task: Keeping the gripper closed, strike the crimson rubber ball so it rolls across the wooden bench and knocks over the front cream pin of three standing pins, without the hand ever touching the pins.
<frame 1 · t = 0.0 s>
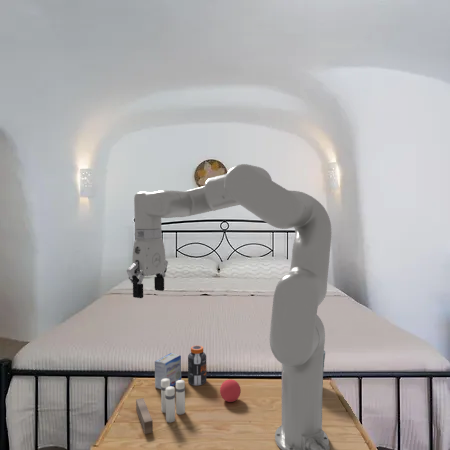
hand: (149, 293, 108), 31 cm above the table, tool pointing down, fingers open, 9 cm apart
back wall: (144, 420, 99), on the table
front pin: (180, 412, 103), on the table
ball: (230, 390, 108), on the table
grey green cup: (308, 389, 116), on the table
right back pin: (165, 410, 103), on the table
medicine box: (168, 385, 119), on the table
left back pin: (170, 419, 99), on the table
pill bottle: (197, 382, 120), on the table
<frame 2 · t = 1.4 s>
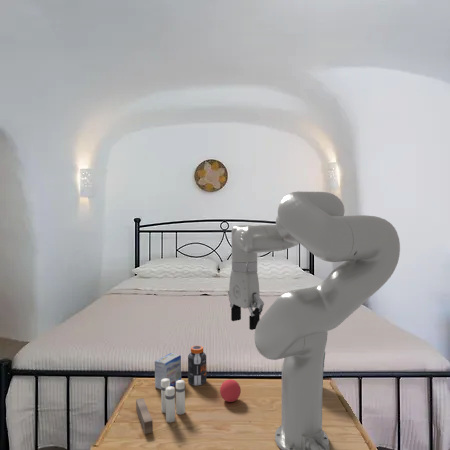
hand: (245, 324, 111), 21 cm above the table, tool pointing down, fingers open, 9 cm apart
nothing on the table moved.
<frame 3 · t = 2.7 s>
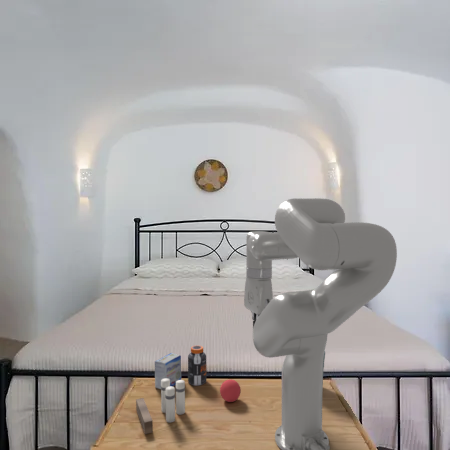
hand: (258, 333, 111), 18 cm above the table, tool pointing down, fingers closed
nothing on the table moved.
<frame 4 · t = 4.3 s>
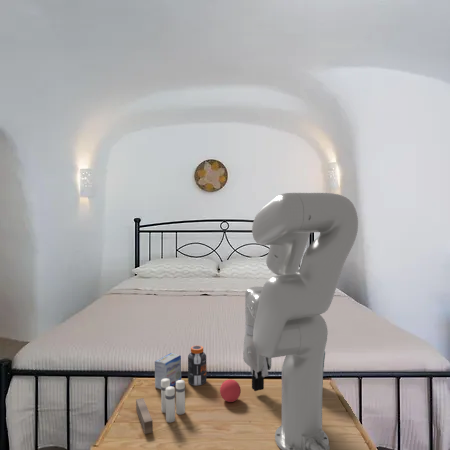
hand: (257, 388, 112), 2 cm above the table, tool pointing down, fingers closed
nothing on the table moved.
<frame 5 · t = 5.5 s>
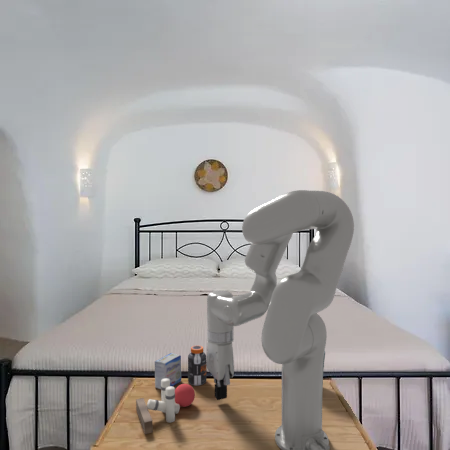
hand: (220, 397, 107), 2 cm above the table, tool pointing down, fingers closed
front pin: (177, 408, 102), point 1 cm above the table, tilted 69°, touching back wall
ball: (184, 395, 106), on the table
everything else where it was.
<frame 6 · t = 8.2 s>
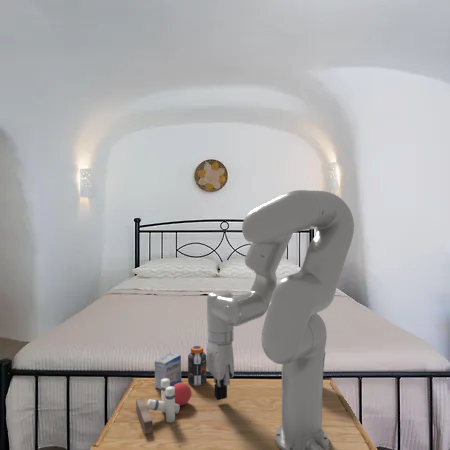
hand: (220, 397, 107), 2 cm above the table, tool pointing down, fingers closed
ball: (180, 393, 106), on the table
everything else where it was.
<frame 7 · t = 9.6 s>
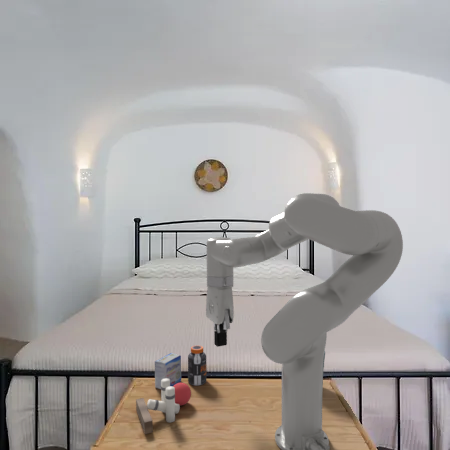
hand: (220, 344, 106), 17 cm above the table, tool pointing down, fingers closed
nothing on the table moved.
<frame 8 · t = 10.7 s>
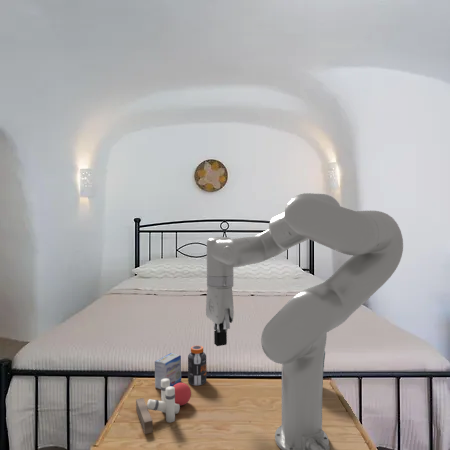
hand: (220, 344, 106), 17 cm above the table, tool pointing down, fingers closed
nothing on the table moved.
at the end: front pin tilted 69°; front pin never touched the robot; ball moved 14.4 cm from its start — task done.
